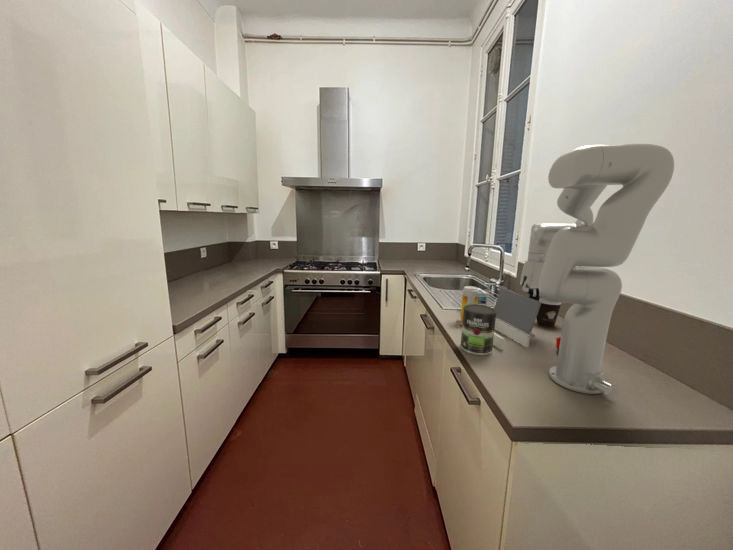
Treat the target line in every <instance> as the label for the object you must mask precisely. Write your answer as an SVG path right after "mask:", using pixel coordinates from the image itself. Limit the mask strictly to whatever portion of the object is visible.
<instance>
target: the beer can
mask: <svg viewBox="0 0 733 550" xmlns="http://www.w3.org/2000/svg"><path fill="white" fill-rule="evenodd" d="M478 288H479V287H477V286H473V285H465V286H464V287H463V289H462V299H461V311H460V312H461V313H460V319H461V321H462V322H463V313H464V309H463V308H464V306H466V305H472V304H474V305H477V304H478V293H479V290H478Z"/></svg>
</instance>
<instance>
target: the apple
mask: <svg viewBox="0 0 733 550" xmlns="http://www.w3.org/2000/svg"><path fill="white" fill-rule="evenodd" d="M555 340H556V343H555V346H556V349H557V351H559V347H560V340H561V336H560V337H557V338H556V339H555Z"/></svg>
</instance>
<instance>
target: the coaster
mask: <svg viewBox="0 0 733 550" xmlns="http://www.w3.org/2000/svg"><path fill="white" fill-rule="evenodd" d="M456 323H457V324H458V323H459V324H458V325H460V324H461V326H462V324H463V322H462V321H461V318H458V319H456Z"/></svg>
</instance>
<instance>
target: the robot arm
mask: <svg viewBox="0 0 733 550" xmlns="http://www.w3.org/2000/svg"><path fill="white" fill-rule="evenodd" d="M674 160H675V159H674V156H673V154H672V152H671V151H670V150H669V149H668V148H666V147H664V146H661V145H657V144H653V143H652V144H650V143H620V144H592V145H591V144H589V145H584V146H580V147H577V148H575V149H573V150H570V151H568V152H566V153H564V154H561V155H560V156H559V157H557V159H556V160H555V161H554V162H553V163H552V165H551V167H550V169H549V172H548V176H547V177H548V178H547V180H548V183H549V184H548V185H550V187H551V188H554V189H562V191H561V193H560V194H559V196H558V198H557V199H556V200H557V201H556V203H557V207H558V208H559V209H558V210H560V211H561V212H563V213H564V214H566V215H568V216H570V217H572V218H574V219H577V220H576V221H575V222H574V223H569V222H568V223H567V222H566V223H559V222H558V223H557V222H555V223H553V222H549V223H547V222H546V223H543V222H542V223H540V222H539V223H537V222H536V223H533V225H532V226H531V229H530V237H529V246H528V252H527V253H528V254H527V260H525V262H524V264H523V265H522V266H523V267H522V270H521V275H520V281H519V285H520V286H521V287H522V288H521V290H522V291H523V292H526V293H527V294H528V298H531V299H534V300H537V301H539V299H545V300H547V301H550V302H559V303H561V304H562V303H563V304H572V305H571V306H570V307H569V308H568V309H567V311H566V313H565V315H564V317H563V323H562V326H561V327H562V328H561V335H560V337H561V340H560V347H559V350H558V354H557V362H556V365H554V366H552V367H550V368H549V370H548V376H549V377H550V378H551V380H552V381H553V382H554V383H556V384H558V385H560V386H561V387H563V388H565V389H567V390H568V389H569V390H571V391H573V392H576V393H581V394H587V395H588V394H589V395H597V394H604V395H605V396H608V395H610V394H611V392H612V390H613V389H614V386H613V385H612V383H609V382H607V381H605V373H604V372H601V369H602V364H603V359H604V353H605V348H606V342H607V337H608V332H609V328H610V322H611V318H612V314H613V312H614V309H615V307H616V304H617V302H618V300H619V298H620V295H621V293H622V288H623V281H622V279H621V277H620V275H619V274H618V273H617V272H615V270H614V271H613V270H611V269H609V268H612V267H618V266H620V265H623V264H624V263H625V262H626V261H627V259H628V258H629V256H630V254H631V252H632V250H633V248H634V246H635V244H636V242H637V239H638V237H639V235H640V233H641V231H642V228H643V226H644V225H645V222H646V220H647V217H648V216H649V214H650V212H651V211H652V209H653V207H654V206H655V204H657V202H658V201H659V199H661V197H662V195H664V193H665V191H666V190H667V188H668V186H669V185H670V183H671V180H672V178H673V175H674V171H675V161H674ZM615 185H617V186H618V185H619V186H621V185H622V187H621V188H620V189H618V190H617V191H616V192H614V193H612V194H611V195H610V196H609V197H608V198H606V200H605V201H604V202H603V203H602V204H601V206H600V207H599V209H598V211H597V214H596V217H595V219H594V213H593V210H592V209H591V207H592V206H593V204H594V203H596V200H597V199H598V198H599V196H600V195H601V194H602V192H604V190H605V189H606V187H607V186H615ZM540 297H541V298H540Z"/></svg>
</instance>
